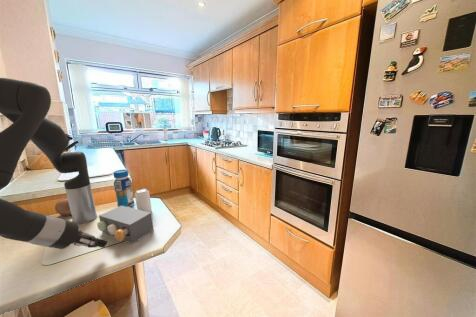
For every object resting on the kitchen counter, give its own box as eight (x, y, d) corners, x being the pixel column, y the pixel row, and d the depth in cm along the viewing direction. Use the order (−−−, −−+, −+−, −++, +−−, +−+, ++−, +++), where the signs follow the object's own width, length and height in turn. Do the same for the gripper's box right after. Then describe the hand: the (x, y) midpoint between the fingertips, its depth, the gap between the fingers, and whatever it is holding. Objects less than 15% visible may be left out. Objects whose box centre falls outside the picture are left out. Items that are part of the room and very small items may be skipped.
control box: (102, 232, 83) (99, 215, 81) (124, 221, 92) (121, 205, 90) (132, 243, 75) (129, 224, 74) (153, 229, 84) (151, 212, 82)
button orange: (114, 239, 74) (113, 230, 73) (126, 232, 78) (125, 223, 77) (121, 242, 72) (120, 232, 71) (133, 234, 77) (132, 225, 76)
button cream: (108, 233, 78) (106, 224, 77) (119, 227, 82) (118, 218, 81) (114, 235, 76) (113, 226, 75) (126, 229, 81) (124, 220, 80)
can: (146, 215, 96) (143, 193, 94) (135, 214, 98) (131, 192, 95) (154, 209, 102) (151, 188, 100) (143, 208, 104) (140, 187, 101)
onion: (74, 215, 105) (77, 197, 107) (81, 215, 100) (83, 195, 102) (50, 217, 97) (54, 196, 100) (56, 216, 92) (60, 195, 95)
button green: (98, 230, 81) (96, 221, 80) (110, 224, 85) (108, 215, 84) (104, 232, 79) (102, 223, 78) (116, 226, 83) (114, 217, 82)
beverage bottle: (115, 205, 108) (109, 171, 104) (131, 200, 115) (126, 168, 110) (120, 210, 103) (114, 174, 99) (137, 204, 109) (131, 170, 105)
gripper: (74, 223, 54) (123, 237, 68) (50, 214, 60) (99, 229, 73) (55, 252, 51) (110, 260, 64) (31, 240, 56) (87, 250, 70)
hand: (104, 243), depth 69 cm, fingers closed
